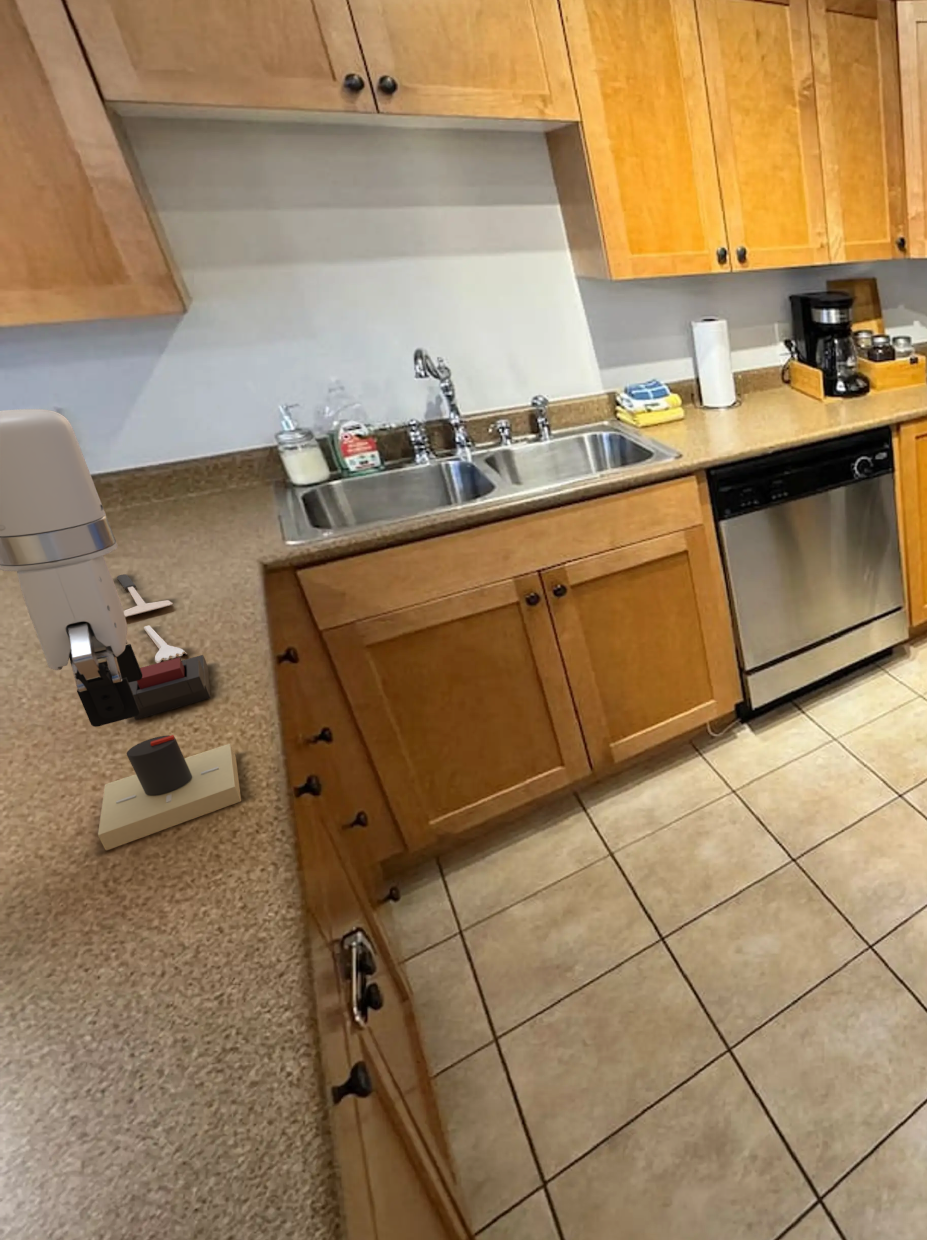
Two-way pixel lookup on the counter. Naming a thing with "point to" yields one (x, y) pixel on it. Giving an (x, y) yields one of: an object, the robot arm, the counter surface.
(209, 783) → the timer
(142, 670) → the red rectangular block
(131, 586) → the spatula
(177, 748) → the timer knob
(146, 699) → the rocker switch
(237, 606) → the counter surface
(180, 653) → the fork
